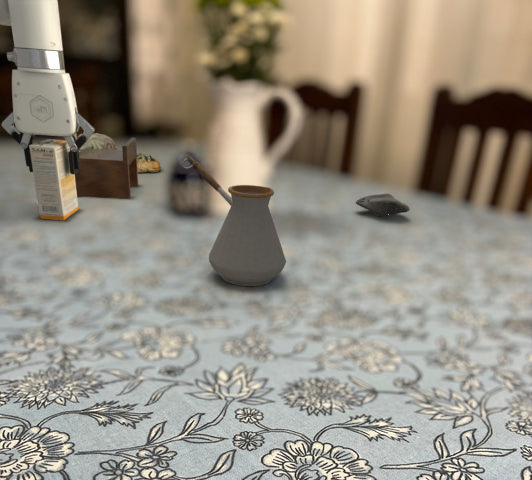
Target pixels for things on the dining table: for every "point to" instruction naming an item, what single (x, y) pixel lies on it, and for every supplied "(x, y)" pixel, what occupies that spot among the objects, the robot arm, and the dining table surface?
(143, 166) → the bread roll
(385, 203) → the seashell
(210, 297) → the dining table surface
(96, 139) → the figurine
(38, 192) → the supplement box
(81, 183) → the dark wooden step block
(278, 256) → the coffee pot
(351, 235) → the dining table surface
